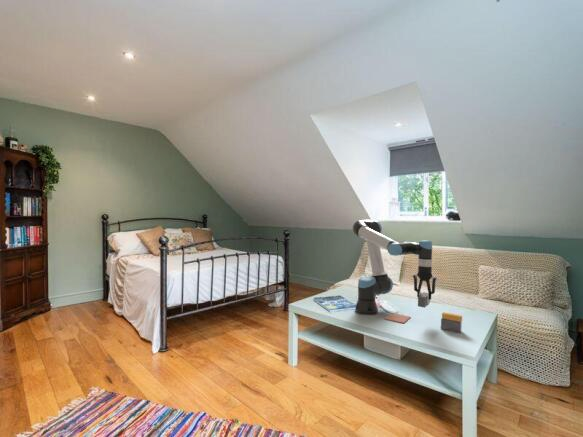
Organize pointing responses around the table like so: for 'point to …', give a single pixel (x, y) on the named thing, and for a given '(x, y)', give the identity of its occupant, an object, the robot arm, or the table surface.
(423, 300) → the tall gray pillar
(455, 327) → the gray rectangular box
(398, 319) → the mat
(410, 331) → the table surface
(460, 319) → the orange rectangular beam
